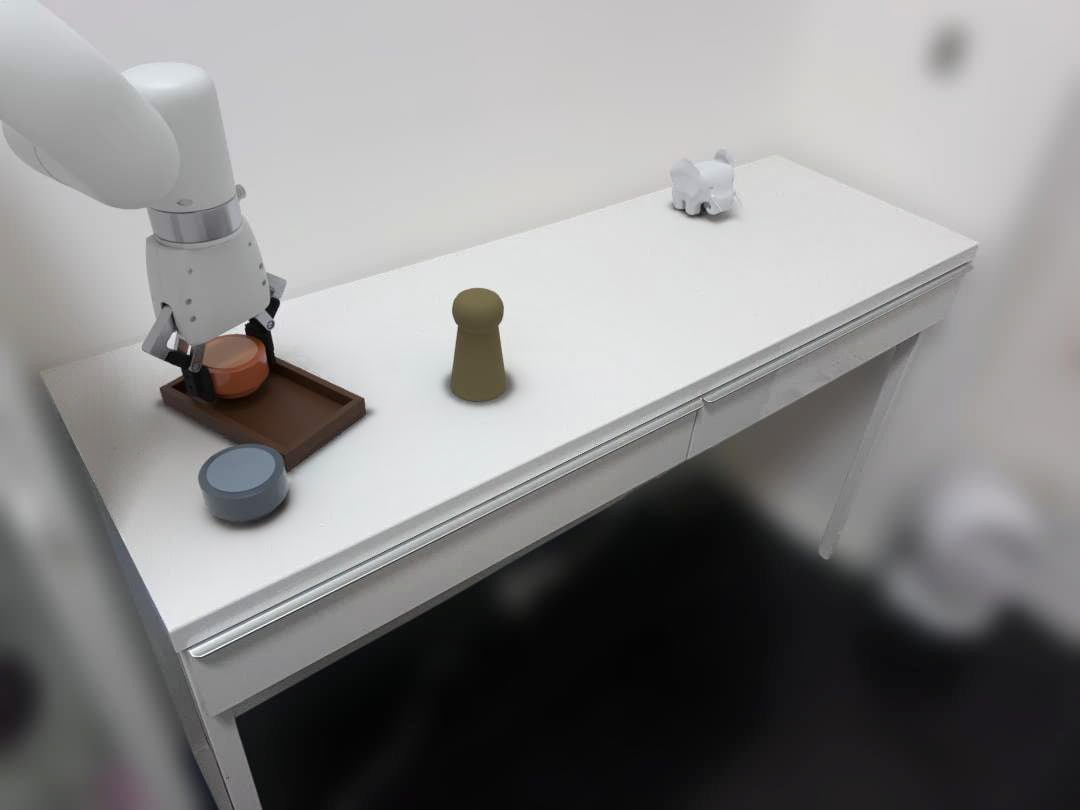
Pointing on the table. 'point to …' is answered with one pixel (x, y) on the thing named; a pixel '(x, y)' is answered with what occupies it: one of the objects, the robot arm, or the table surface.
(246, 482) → the slate dish
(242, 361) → the terracotta dish
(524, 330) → the table surface
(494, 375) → the pepper shaker
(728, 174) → the elephant figurine
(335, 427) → the tray
